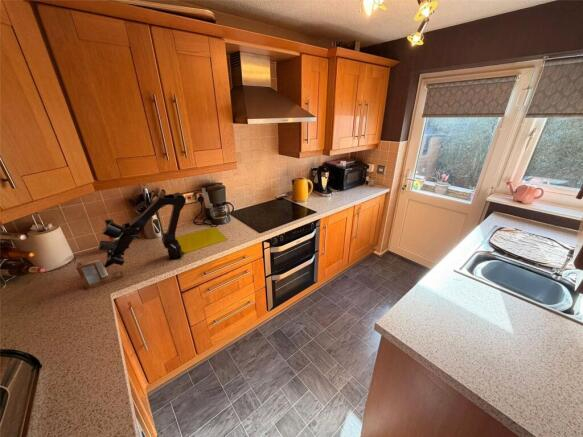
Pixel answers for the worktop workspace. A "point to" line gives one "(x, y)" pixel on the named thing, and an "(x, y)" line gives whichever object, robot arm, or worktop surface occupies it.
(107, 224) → the lotion bottle
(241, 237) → the worktop surface
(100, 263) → the frame
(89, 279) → the window frame
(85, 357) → the worktop surface
